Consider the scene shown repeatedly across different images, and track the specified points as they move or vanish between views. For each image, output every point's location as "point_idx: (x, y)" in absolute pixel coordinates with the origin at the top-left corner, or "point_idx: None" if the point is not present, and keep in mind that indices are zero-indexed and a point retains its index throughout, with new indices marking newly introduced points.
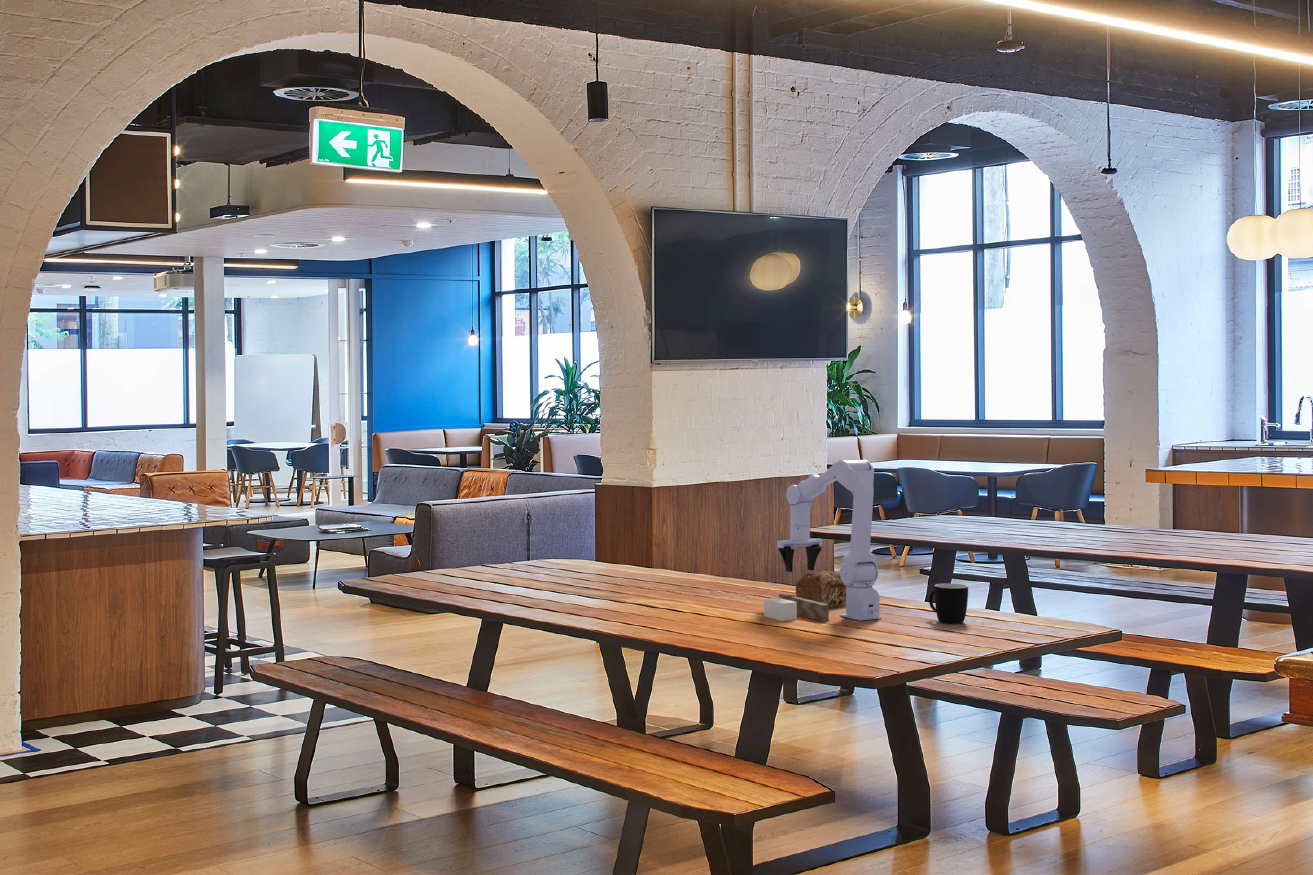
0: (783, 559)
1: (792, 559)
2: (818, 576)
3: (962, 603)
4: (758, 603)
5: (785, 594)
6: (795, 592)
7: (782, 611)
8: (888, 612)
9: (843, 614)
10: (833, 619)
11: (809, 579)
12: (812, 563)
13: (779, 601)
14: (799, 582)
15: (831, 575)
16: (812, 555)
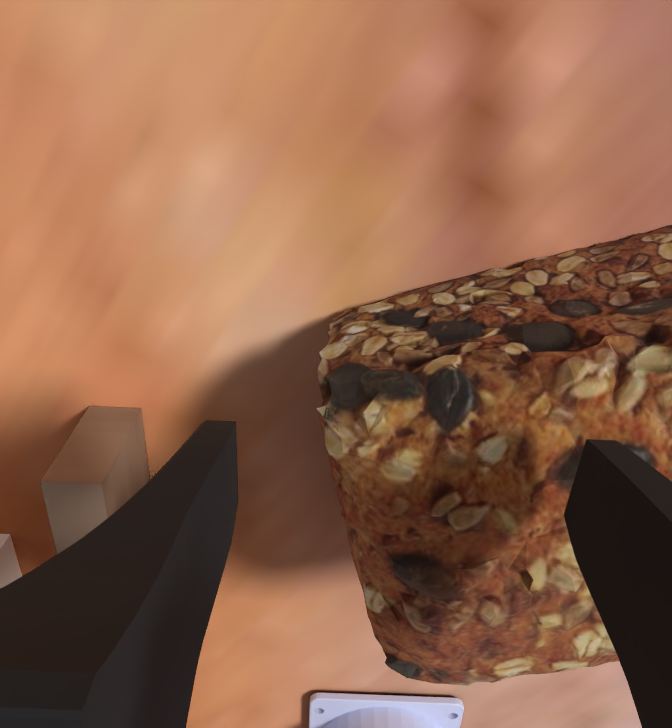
0: (102, 529)
1: (189, 685)
2: (425, 671)
3: None
4: (61, 29)
5: (92, 508)
6: (319, 352)
7: None
8: (621, 710)
9: (323, 713)
10: (228, 725)
11: (363, 590)
12: (600, 604)
13: None
14: (329, 457)
15: (616, 655)
16: (664, 725)
